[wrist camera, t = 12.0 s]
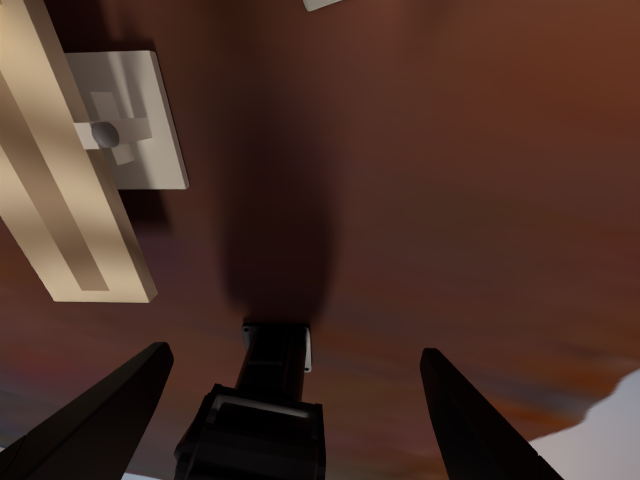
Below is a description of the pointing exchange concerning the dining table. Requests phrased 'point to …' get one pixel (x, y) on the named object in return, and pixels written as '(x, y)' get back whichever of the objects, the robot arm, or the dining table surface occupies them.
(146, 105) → the pivot stand
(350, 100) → the dining table surface
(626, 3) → the dining table surface
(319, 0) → the small box
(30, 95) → the beam
